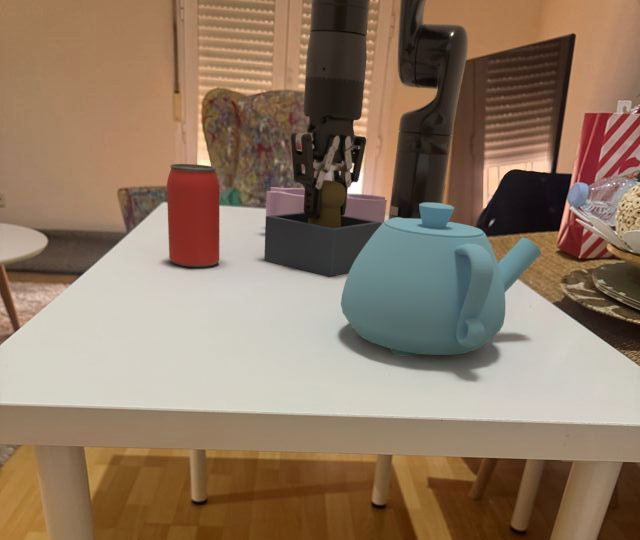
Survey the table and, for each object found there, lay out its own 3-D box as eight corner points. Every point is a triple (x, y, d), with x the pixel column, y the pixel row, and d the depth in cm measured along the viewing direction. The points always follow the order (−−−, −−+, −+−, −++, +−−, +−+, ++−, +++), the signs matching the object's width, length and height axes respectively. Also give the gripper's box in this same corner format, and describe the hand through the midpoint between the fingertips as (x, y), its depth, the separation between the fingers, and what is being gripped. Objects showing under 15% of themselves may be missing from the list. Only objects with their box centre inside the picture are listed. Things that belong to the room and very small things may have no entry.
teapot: (308, 312, 66) (317, 186, 61) (468, 307, 73) (489, 193, 68) (391, 384, 50) (414, 221, 44) (587, 368, 57) (627, 225, 51)
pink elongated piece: (379, 234, 115) (383, 194, 112) (383, 247, 104) (388, 203, 101) (270, 225, 115) (272, 185, 111) (263, 237, 103) (264, 193, 100)
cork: (342, 269, 87) (350, 184, 82) (299, 265, 87) (304, 181, 82) (342, 259, 92) (349, 180, 87) (301, 256, 92) (306, 177, 87)
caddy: (314, 251, 96) (317, 210, 94) (377, 265, 91) (382, 222, 88) (264, 260, 88) (265, 216, 85) (330, 276, 82) (333, 229, 79)
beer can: (193, 270, 79) (191, 169, 74) (158, 261, 83) (154, 163, 77) (229, 264, 84) (230, 168, 79) (196, 255, 88) (194, 163, 82)
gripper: (324, 72, 72) (314, 225, 79) (390, 82, 82) (375, 216, 90) (275, 70, 76) (270, 216, 83) (343, 80, 86) (333, 209, 94)
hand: (325, 215), depth 86 cm, fingers closed on cork, 5 cm apart
